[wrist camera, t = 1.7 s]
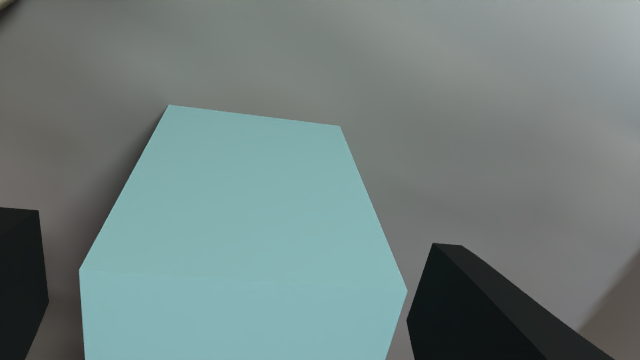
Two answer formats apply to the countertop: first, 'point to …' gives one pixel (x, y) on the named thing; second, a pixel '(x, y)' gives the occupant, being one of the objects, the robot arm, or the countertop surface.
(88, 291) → the pale teal block
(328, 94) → the countertop surface
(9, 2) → the spool
